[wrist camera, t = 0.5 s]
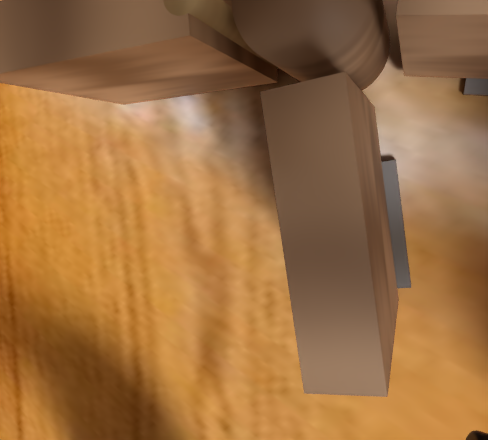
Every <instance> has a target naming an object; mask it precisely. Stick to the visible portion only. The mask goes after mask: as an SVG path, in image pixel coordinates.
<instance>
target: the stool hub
mask: <svg viewBox="0 0 488 440" xmlns="http://www.w3.org/2000/svg"><path fill="white" fill-rule="evenodd" d="M231 5H232V13H233V17H234V21H235V24H236V26H237V29H238V31H239V33H240V35H241V36H242V38H243V39H244V41H245V42H246V43H247V45H248V46H249V47H250V48H251V49H252V50H253V51H254V52H256V53H257V54H258V55H260V56H261V57H263V58H264V59H266V60H267V61H269V62H271V63H272V64H274V65H275V66H277V67H278V68H280V69H281V70H283V71H284V72H286V73H288V74H289V75H291V76H292V77H294V78H295V79H297V80H298V81H300V82H299V83H295V84H291V85H286V86H282V87H278V88H273V89H269V90H265V91H261V92H260V95H261V102H262V109H263V116H264V123H265V129H266V136H267V143H268V150H269V157H270V163H271V170H272V177H273V184H274V191H275V197H276V204H277V211H278V218H279V225H280V231H281V238H282V245H283V252H284V259H285V265H286V272H287V279H288V286H289V293H290V299H291V306H292V313H293V320H294V327H295V333H296V340H297V347H298V354H299V361H300V367H301V374H302V381H303V388H304V393H307V394H332V395H356V396H381V397H387V396H388V388H389V379H390V370H391V361H392V353H393V344H394V335H395V327H396V318H397V309H398V301H399V299H398V291H397V288H411V280H410V272H409V264H408V256H407V248H406V240H405V231H404V223H403V215H402V207H401V199H400V191H399V182H398V174H397V166H396V160H391V161H384V162H381V155H380V147H379V139H378V131H377V123H376V115H375V107H374V106H373V105H372V103H371V102H370V101H369V100H368V99H367V97H366V96H365V95H364V94H363V93H362V90H363V89H365V88H367V87H368V86H369V85H370V84H371V83H373V82H374V80H375V79H376V78H377V77H378V76H379V75H380V73H381V72H382V70H383V68H384V66H385V64H386V62H387V59H388V56H389V51H390V33H389V28H388V24H387V19H386V14H385V9H384V5H383V0H231ZM396 21H397V28H398V35H399V42H400V49H401V57H402V64H403V71H404V76H420V77H448V78H466V81H465V87H464V92H463V95H484V96H488V0H398V3H397V10H396Z"/></svg>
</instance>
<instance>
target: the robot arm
mask: <svg viewBox="0 0 488 440" xmlns="http://www.w3.org/2000/svg"><path fill="white" fill-rule="evenodd" d="M466 440H488V434H487V433H484V432H481V431H472V432H470V433H469V435H468V436H467V438H466Z"/></svg>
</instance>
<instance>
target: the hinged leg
mask: <svg viewBox="0 0 488 440" xmlns="http://www.w3.org/2000/svg"><path fill="white" fill-rule="evenodd" d="M277 69H278V67H277V66H275V65H274V64H272V63H271V62H269V61H267V60H266V59H264V58H263V57H261V56H260V55H258V54H257V53H256V52H254V51H253V50H252V49H251V48H250V47H249V46H248V45H247V43H246V42H245V41H244V39H243V38H242V36H241V35H240V33H239V31H238V29H237V26H236V24H235V21H234V17H233V13H232V5H231V0H2V1H0V83H5V84H10V85H16V86H22V87H27V88H33V89H39V90H44V91H50V92H56V93H61V94H67V95H73V96H78V97H84V98H90V99H95V100H101V101H107V102H113V103H118V104H131V103H138V102H145V101H152V100H159V99H166V98H173V97H180V96H187V95H194V94H201V93H208V92H214V91H221V90H228V89H235V88H242V87H249V86H256V85H263V84H270V83H277V82H278V77H277Z"/></svg>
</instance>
